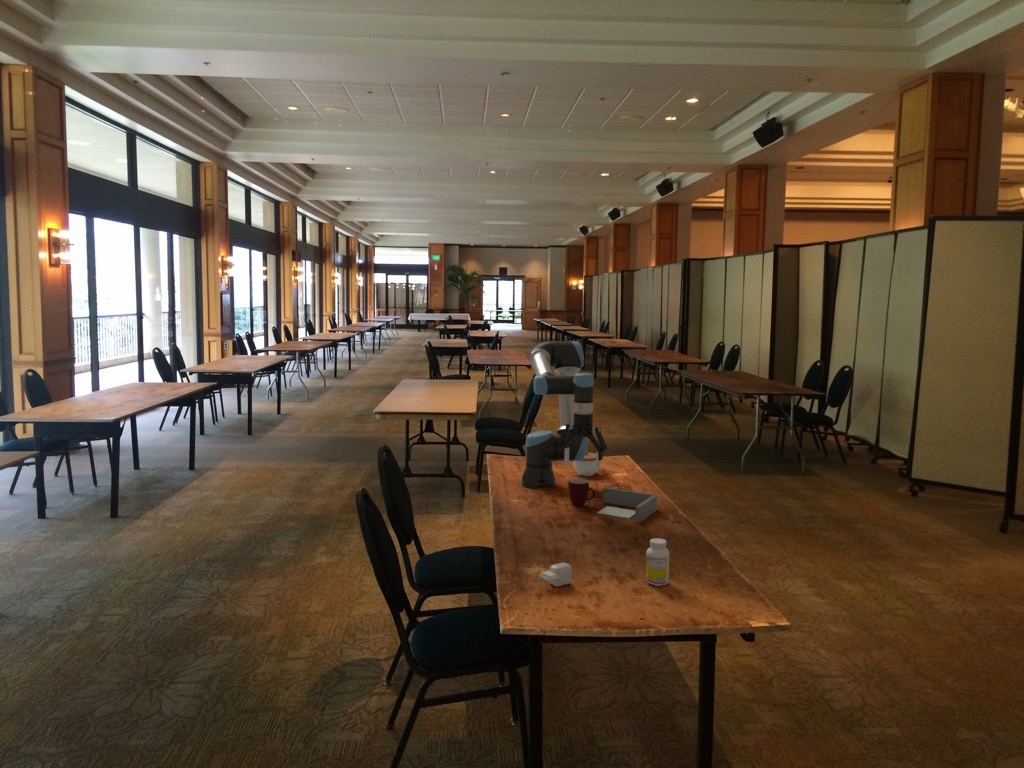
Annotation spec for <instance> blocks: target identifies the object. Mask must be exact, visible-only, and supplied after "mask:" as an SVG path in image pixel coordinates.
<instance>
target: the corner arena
mask: <svg viewBox="0 0 1024 768" xmlns="http://www.w3.org/2000/svg"><path fill="white" fill-rule="evenodd" d="M602 491H603V493H602V494H603V495H602V498H603V499H602V500H603V501H602V503H604V504H612V505H617V506H622V507H628V508H629V507H630V508H635V510H634V509H627V508H620V507H614V506H605V507H603V508H602V509H600V510H599V511H597V514H600V515H607V516H612V517H617V518H622V519H630V518H632V517H633V516H634V523H636V524H640V523H641V522H643V521H644V520H645V519H647V518H648V517H650V516H652V514H654V513H655V512H657V511H658V494H654V493H648V492H640V491H633V490H627V489H620V488H614V487H613V488H612V487H607V486H604V487H603V490H602ZM656 510H657V511H656ZM649 515H650V516H649Z"/></svg>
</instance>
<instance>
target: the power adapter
mask: <svg viewBox="0 0 1024 768" xmlns="http://www.w3.org/2000/svg"><path fill="white" fill-rule="evenodd" d="M572 570H573V569H572V566H571V565H570V564H569V563H567V562H560V563H554V564H552V565H550V566H549V570H545V571H541V573H540V574H539V575H534V579H538V578H540V579H539V582H543V581H547V582H549V584H550V583H551V584H553V585H554V586H553V585H552V586H553V587H555V586H560V585H564V584H568V583H570V584H572V577H573V575H572V574H573V573H572V572H573V571H572ZM551 584H550V585H551Z"/></svg>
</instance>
